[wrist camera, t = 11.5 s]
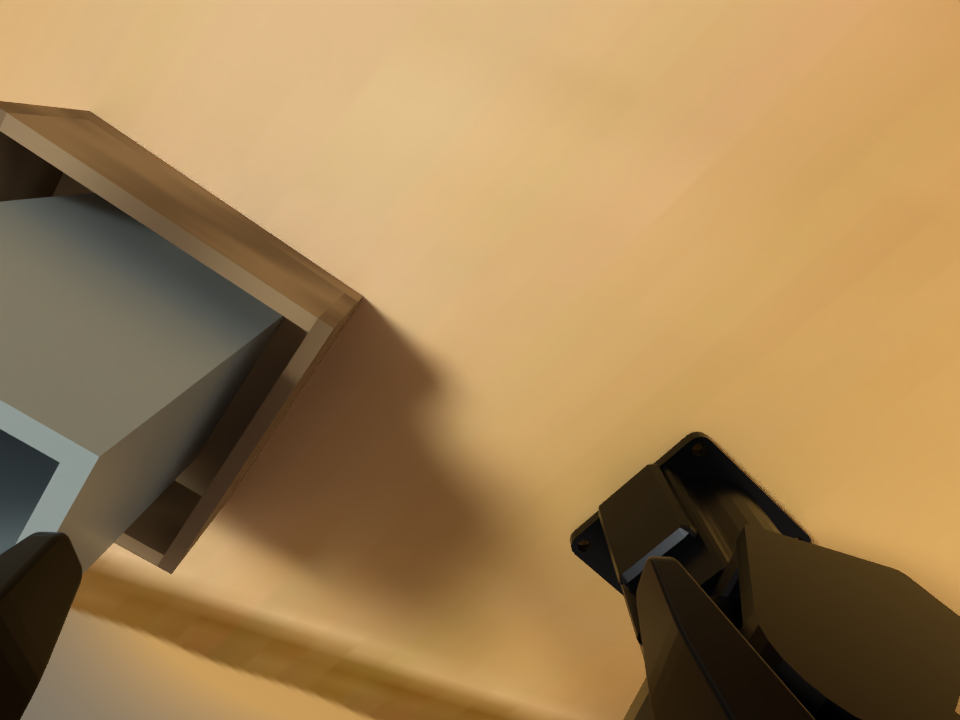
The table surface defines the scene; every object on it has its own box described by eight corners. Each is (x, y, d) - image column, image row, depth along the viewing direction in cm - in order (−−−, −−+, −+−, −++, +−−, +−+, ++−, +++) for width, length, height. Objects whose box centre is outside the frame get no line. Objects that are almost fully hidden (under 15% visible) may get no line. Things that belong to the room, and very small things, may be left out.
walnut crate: (362, 296, 20) (333, 328, 17) (223, 505, 23) (171, 574, 19) (89, 111, 19) (-13, 99, 15) (-27, 359, 21) (-139, 403, 18)
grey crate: (287, 312, 20) (99, 456, 10) (195, 458, 22) (-37, 696, 12) (102, 192, 19) (-299, 229, 9) (22, 356, 20) (-385, 529, 11)
